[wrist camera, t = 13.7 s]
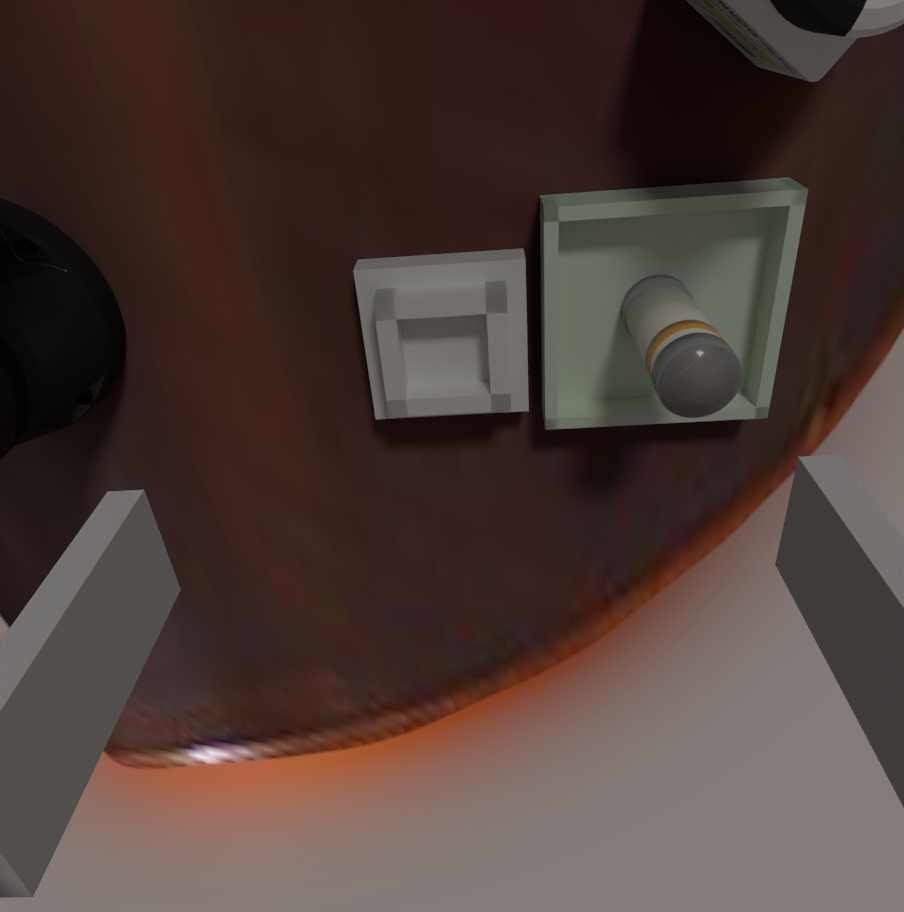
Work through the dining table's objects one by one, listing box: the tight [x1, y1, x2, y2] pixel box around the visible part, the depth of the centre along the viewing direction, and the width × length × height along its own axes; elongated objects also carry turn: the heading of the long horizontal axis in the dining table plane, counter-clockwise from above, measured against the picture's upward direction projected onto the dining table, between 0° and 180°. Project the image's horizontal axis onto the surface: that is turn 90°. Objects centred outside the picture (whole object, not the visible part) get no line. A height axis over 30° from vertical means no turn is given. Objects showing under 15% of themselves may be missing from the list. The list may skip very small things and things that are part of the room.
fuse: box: [621, 275, 743, 418], centre depth 41 cm, size 4×4×10 cm
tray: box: [540, 178, 808, 430], centre depth 44 cm, size 14×14×3 cm
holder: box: [353, 248, 529, 419], centre depth 45 cm, size 10×10×4 cm
